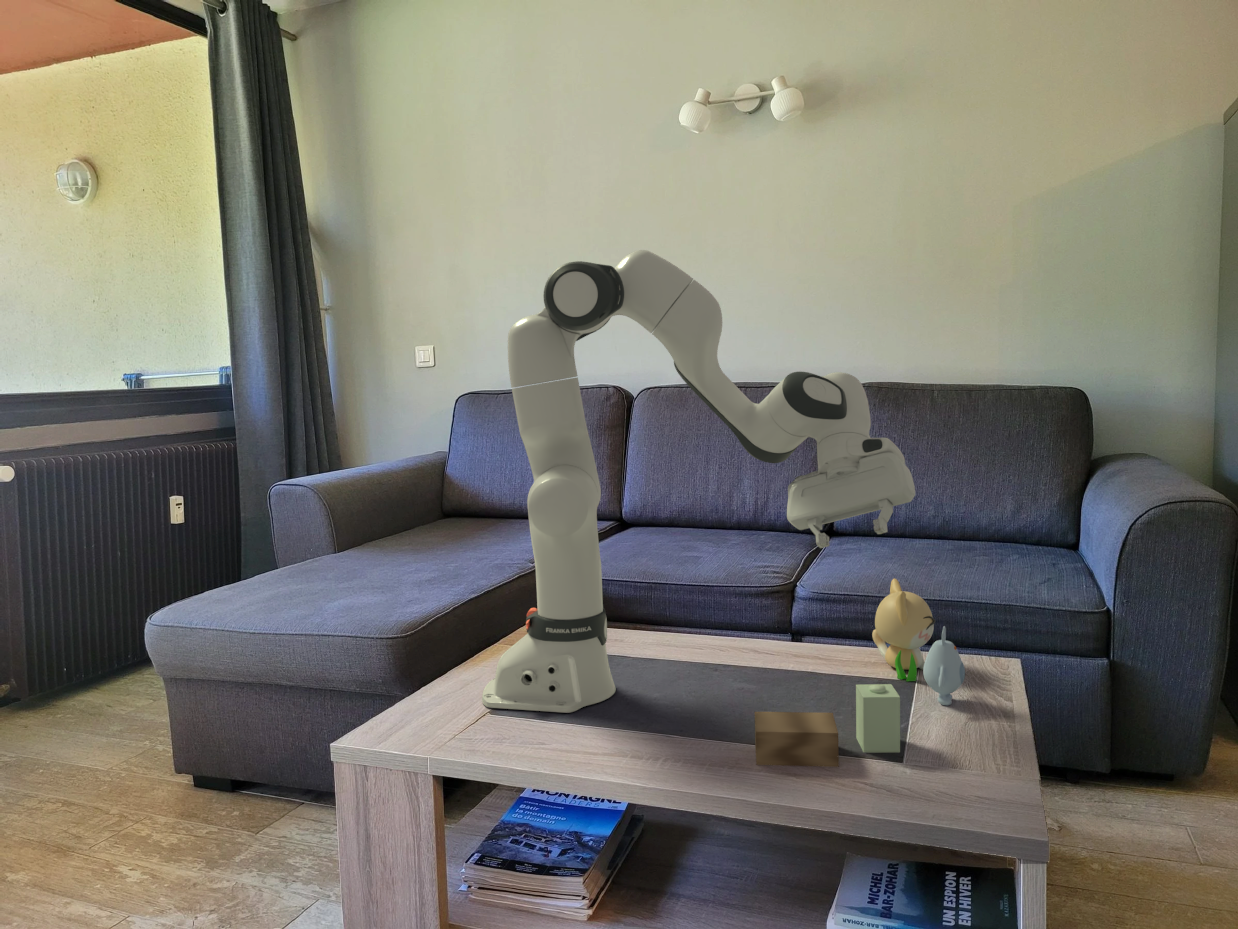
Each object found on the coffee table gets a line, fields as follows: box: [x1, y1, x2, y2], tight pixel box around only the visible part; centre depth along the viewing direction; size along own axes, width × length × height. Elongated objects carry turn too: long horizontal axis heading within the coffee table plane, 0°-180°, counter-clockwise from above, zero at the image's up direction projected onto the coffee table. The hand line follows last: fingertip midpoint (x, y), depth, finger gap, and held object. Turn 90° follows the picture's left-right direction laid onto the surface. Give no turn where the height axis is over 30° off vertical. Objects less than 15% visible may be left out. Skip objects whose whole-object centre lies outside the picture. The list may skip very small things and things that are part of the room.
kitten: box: [871, 577, 936, 682], centre depth 156 cm, size 15×10×15 cm
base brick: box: [754, 711, 840, 768], centre depth 123 cm, size 11×7×5 cm, turn 83°
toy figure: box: [922, 625, 966, 706], centre depth 140 cm, size 11×6×12 cm, turn 156°
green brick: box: [855, 683, 901, 754], centre depth 125 cm, size 5×5×8 cm
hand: (851, 539), depth 135 cm, fingers open, 8 cm apart
